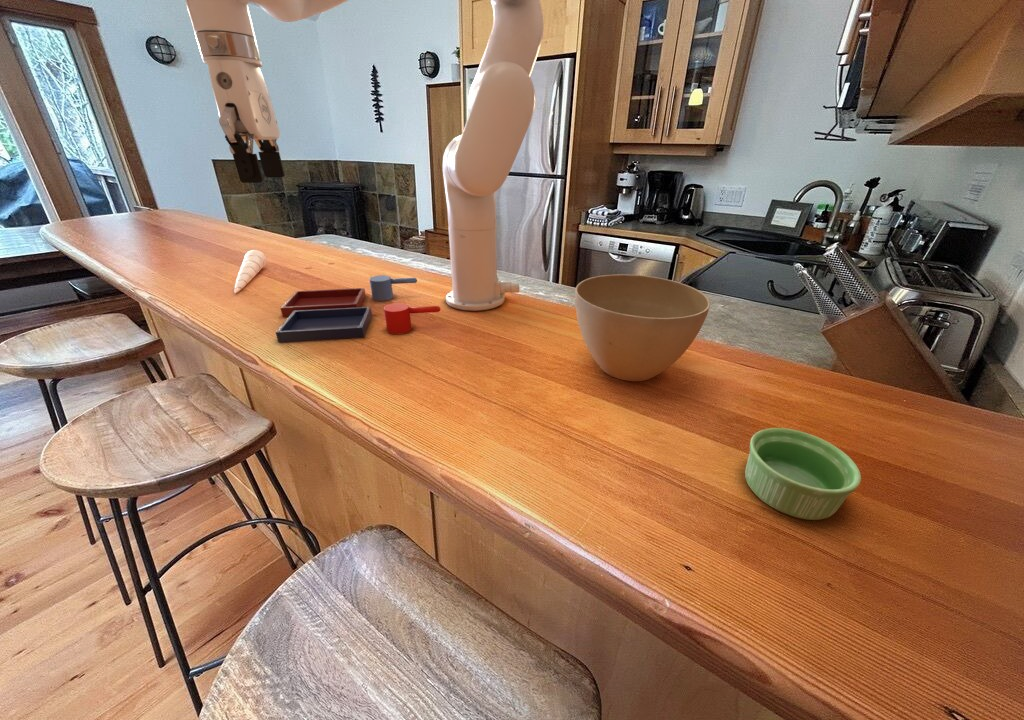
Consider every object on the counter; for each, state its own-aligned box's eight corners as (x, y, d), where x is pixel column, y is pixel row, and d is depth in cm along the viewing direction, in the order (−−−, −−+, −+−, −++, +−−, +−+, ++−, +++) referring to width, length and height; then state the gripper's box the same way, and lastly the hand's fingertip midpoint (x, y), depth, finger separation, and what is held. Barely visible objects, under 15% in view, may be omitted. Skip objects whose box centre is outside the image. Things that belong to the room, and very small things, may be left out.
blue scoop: (419, 292, 94) (417, 273, 91) (418, 299, 90) (416, 279, 88) (374, 294, 92) (370, 275, 90) (371, 301, 88) (367, 281, 86)
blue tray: (372, 315, 81) (370, 306, 80) (363, 337, 72) (362, 327, 72) (296, 319, 79) (293, 310, 78) (278, 342, 71) (275, 332, 70)
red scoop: (441, 322, 79) (440, 300, 76) (442, 331, 75) (440, 309, 73) (388, 325, 77) (385, 303, 75) (385, 335, 73) (382, 312, 71)
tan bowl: (601, 410, 53) (613, 324, 48) (552, 349, 69) (557, 278, 63) (718, 390, 58) (742, 309, 52) (648, 337, 73) (660, 270, 67)
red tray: (365, 296, 91) (364, 287, 90) (357, 313, 83) (356, 304, 82) (298, 299, 89) (296, 290, 89) (282, 317, 81) (280, 307, 80)
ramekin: (819, 543, 36) (838, 508, 34) (721, 482, 42) (732, 449, 40) (857, 497, 41) (876, 463, 38) (764, 448, 47) (776, 417, 45)
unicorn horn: (216, 296, 91) (209, 275, 88) (249, 267, 111) (244, 249, 109) (240, 294, 92) (233, 273, 89) (269, 266, 112) (264, 248, 110)
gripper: (231, 41, 53) (269, 184, 61) (278, 62, 68) (303, 175, 76) (167, 40, 52) (214, 185, 60) (230, 61, 67) (260, 175, 75)
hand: (264, 179), depth 68 cm, fingers open, 9 cm apart
